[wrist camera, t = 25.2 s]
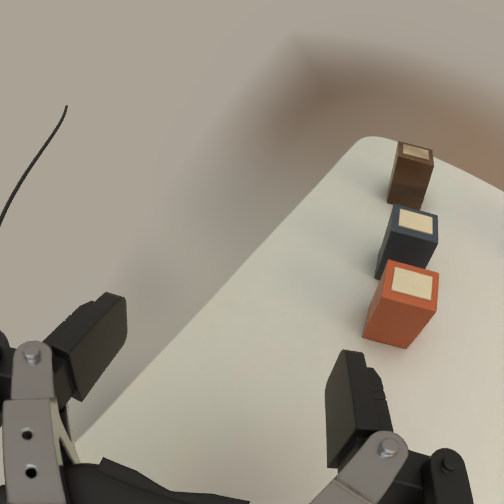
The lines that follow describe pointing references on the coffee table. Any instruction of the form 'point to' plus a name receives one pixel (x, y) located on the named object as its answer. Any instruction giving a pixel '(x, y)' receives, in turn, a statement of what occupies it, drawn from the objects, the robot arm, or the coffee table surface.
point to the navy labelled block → (408, 238)
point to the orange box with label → (401, 304)
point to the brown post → (410, 175)
